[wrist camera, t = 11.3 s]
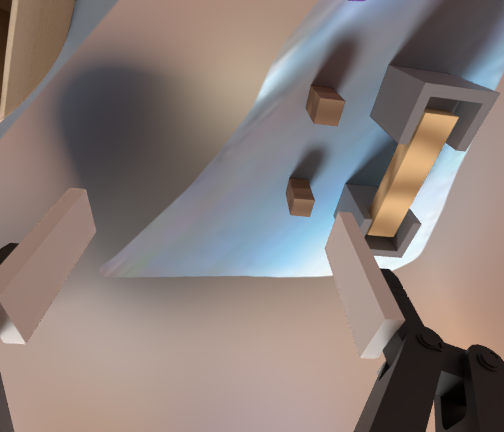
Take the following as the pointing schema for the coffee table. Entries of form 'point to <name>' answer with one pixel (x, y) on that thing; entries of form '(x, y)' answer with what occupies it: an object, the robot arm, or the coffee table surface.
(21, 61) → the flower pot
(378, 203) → the slat
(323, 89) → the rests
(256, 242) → the coffee table surface
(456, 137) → the end caps
